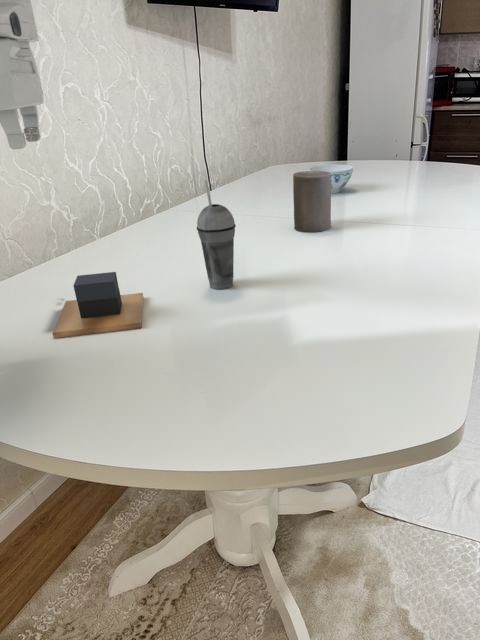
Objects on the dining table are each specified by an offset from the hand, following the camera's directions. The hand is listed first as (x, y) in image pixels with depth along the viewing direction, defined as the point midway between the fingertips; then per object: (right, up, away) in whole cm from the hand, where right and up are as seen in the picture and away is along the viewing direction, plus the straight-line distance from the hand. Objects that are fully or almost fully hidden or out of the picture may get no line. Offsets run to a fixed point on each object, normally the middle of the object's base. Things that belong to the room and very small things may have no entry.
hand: (26, 144), depth 72 cm
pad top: (+4, -19, +18) cm, 26 cm away
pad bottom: (+4, -21, +20) cm, 29 cm away
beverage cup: (+24, -16, +31) cm, 42 cm away
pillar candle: (+45, +4, +66) cm, 80 cm away
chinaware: (+55, +26, +107) cm, 123 cm away
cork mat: (+4, -22, +20) cm, 30 cm away
